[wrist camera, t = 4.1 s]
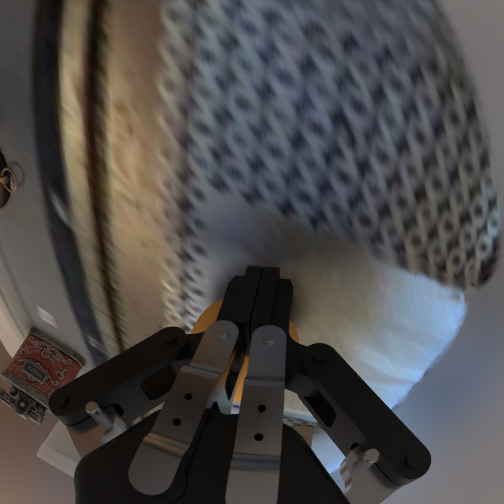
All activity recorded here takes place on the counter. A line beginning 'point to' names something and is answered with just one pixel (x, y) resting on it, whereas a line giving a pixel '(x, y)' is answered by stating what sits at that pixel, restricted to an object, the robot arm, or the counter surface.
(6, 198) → the compass
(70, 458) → the foam cup
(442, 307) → the counter surface
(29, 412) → the lighter
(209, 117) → the counter surface
